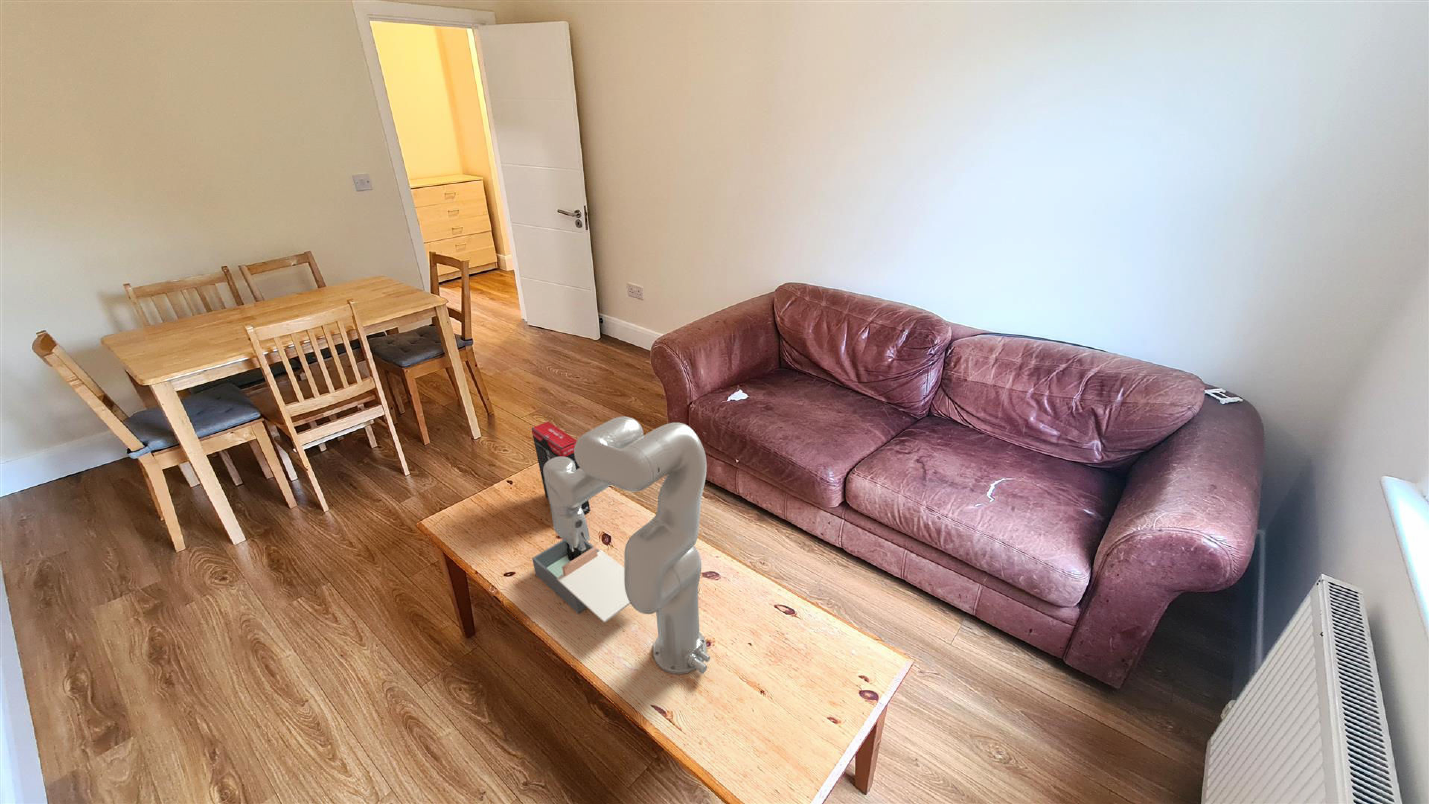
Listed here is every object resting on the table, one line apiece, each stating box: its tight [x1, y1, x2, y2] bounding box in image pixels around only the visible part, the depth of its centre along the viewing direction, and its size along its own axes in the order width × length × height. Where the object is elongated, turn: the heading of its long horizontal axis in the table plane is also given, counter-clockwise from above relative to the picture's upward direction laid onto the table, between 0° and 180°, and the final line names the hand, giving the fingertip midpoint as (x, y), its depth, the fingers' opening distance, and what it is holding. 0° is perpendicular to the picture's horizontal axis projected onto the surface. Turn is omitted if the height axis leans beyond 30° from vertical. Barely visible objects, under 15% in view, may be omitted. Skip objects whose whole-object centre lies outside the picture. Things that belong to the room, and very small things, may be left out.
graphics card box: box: [531, 421, 591, 515], centre depth 177 cm, size 17×7×27 cm, turn 46°
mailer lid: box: [557, 546, 631, 624], centre depth 145 cm, size 20×14×3 cm
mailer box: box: [532, 538, 600, 615], centre depth 155 cm, size 20×14×6 cm
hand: (575, 558), depth 152 cm, fingers closed
